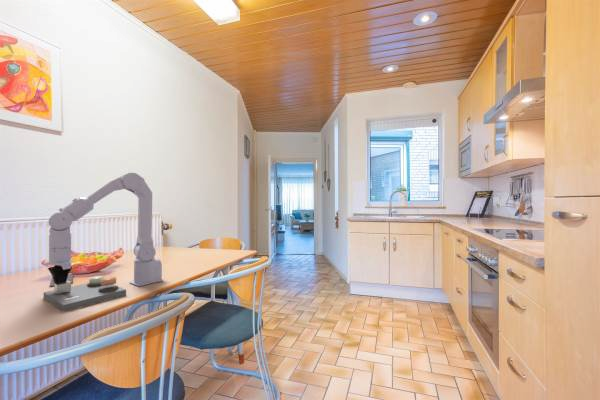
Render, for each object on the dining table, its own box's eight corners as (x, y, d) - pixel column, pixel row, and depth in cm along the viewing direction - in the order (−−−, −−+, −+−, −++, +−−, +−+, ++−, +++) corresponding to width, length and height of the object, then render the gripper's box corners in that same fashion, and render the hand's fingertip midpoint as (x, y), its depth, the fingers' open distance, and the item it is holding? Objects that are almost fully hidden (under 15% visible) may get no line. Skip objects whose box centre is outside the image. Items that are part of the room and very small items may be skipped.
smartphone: (49, 286, 103) (52, 277, 114) (49, 288, 103) (52, 279, 114) (73, 282, 107) (73, 274, 119) (73, 285, 107) (73, 276, 119)
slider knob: (67, 289, 93) (68, 280, 93) (71, 291, 91) (71, 282, 91) (54, 292, 90) (54, 283, 90) (57, 294, 88) (57, 285, 88)
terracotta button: (112, 281, 97) (112, 276, 97) (118, 283, 94) (118, 278, 94) (98, 284, 93) (98, 279, 93) (103, 286, 91) (103, 281, 91)
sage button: (101, 280, 103) (101, 275, 103) (106, 282, 100) (106, 277, 100) (87, 283, 99) (87, 278, 99) (92, 285, 96) (92, 280, 96)
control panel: (102, 285, 105) (102, 278, 105) (126, 295, 94) (126, 287, 94) (43, 298, 91) (43, 290, 91) (63, 311, 80) (63, 303, 80)
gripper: (38, 247, 93) (38, 286, 93) (51, 251, 85) (51, 294, 85) (64, 244, 99) (64, 281, 99) (79, 248, 91) (78, 288, 91)
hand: (60, 287), depth 92 cm, fingers closed
